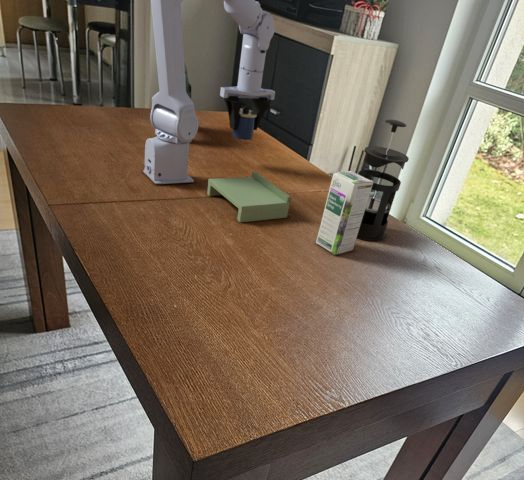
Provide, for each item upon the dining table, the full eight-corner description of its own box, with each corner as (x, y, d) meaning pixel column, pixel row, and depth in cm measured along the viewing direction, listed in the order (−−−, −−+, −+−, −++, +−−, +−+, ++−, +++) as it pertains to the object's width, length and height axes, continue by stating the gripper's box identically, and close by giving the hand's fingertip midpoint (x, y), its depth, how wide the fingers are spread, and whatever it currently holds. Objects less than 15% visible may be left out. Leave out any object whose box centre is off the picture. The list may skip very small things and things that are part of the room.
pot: (238, 140, 126) (242, 109, 122) (227, 133, 130) (230, 103, 126) (257, 140, 129) (262, 110, 125) (246, 133, 133) (250, 103, 129)
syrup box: (314, 243, 102) (331, 172, 93) (334, 238, 106) (352, 169, 97) (334, 255, 99) (354, 183, 90) (354, 250, 103) (375, 180, 94)
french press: (393, 243, 109) (431, 131, 95) (354, 242, 106) (388, 127, 92) (369, 219, 117) (401, 114, 103) (332, 218, 114) (360, 109, 100)
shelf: (239, 222, 104) (242, 200, 102) (206, 194, 114) (208, 173, 111) (286, 217, 110) (291, 196, 108) (252, 191, 120) (255, 171, 117)
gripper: (267, 67, 127) (259, 124, 135) (216, 63, 119) (211, 123, 127) (283, 74, 122) (273, 132, 130) (231, 70, 115) (224, 132, 123)
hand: (243, 128), depth 129 cm, fingers closed on pot, 5 cm apart
